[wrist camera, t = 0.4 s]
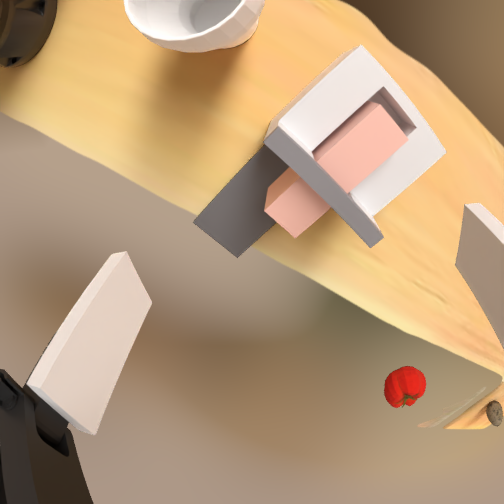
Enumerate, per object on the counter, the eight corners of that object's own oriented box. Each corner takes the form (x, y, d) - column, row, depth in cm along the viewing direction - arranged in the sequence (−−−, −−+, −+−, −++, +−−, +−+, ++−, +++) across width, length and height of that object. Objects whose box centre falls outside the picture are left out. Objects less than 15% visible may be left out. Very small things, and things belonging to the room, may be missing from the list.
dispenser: (271, 120, 32) (263, 142, 21) (342, 53, 27) (374, 38, 16) (345, 193, 36) (370, 248, 25) (413, 133, 31) (467, 165, 20)
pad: (194, 220, 41) (192, 222, 40) (274, 134, 33) (274, 135, 33) (237, 255, 43) (237, 257, 43) (321, 179, 36) (322, 180, 35)
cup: (239, -32, 22) (210, -89, 9) (289, 31, 26) (292, -3, 14) (164, 14, 26) (96, -11, 13) (210, 76, 30) (160, 77, 18)
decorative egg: (487, 407, 67) (494, 430, 59) (481, 406, 66) (488, 430, 58) (500, 398, 64) (508, 421, 56) (495, 396, 63) (503, 420, 55)
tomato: (381, 387, 59) (386, 414, 53) (382, 366, 54) (388, 396, 48) (419, 378, 57) (425, 404, 50) (423, 356, 52) (432, 385, 46)
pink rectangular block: (268, 187, 32) (264, 210, 27) (362, 99, 25) (380, 104, 20) (294, 211, 33) (295, 238, 28) (387, 127, 27) (408, 139, 22)
